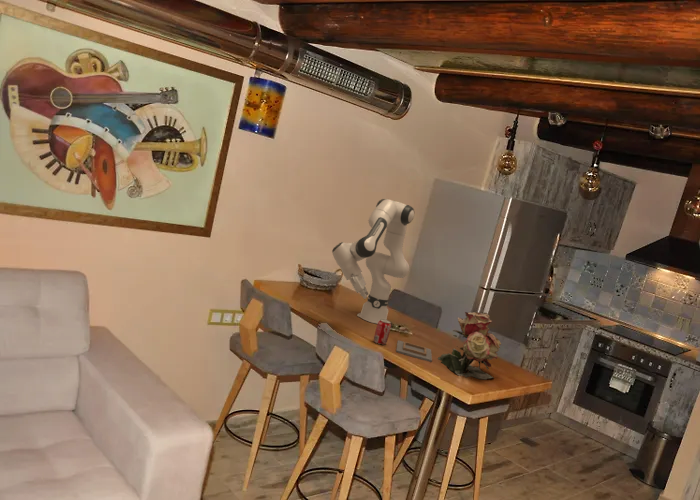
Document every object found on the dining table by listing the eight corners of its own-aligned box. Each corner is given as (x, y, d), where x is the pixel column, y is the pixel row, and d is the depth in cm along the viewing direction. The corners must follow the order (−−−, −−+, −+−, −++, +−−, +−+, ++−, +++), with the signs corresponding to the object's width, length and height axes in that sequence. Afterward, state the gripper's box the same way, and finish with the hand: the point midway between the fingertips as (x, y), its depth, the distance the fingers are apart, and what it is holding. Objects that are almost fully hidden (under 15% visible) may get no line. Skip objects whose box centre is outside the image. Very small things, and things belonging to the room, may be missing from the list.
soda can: (387, 344, 318) (393, 321, 316) (384, 346, 311) (390, 324, 310) (374, 339, 320) (380, 317, 318) (371, 342, 313) (377, 319, 312)
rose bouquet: (460, 379, 290) (478, 318, 286) (432, 356, 317) (448, 300, 313) (505, 385, 300) (523, 326, 296) (474, 362, 327) (490, 308, 323)
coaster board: (397, 341, 327) (398, 337, 327) (430, 351, 325) (431, 347, 325) (396, 352, 307) (397, 348, 307) (431, 362, 306) (432, 358, 305)
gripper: (356, 272, 302) (370, 297, 303) (359, 267, 323) (373, 290, 323) (345, 278, 303) (359, 303, 304) (349, 273, 324) (362, 296, 324)
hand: (366, 296), depth 314 cm, fingers open, 8 cm apart
